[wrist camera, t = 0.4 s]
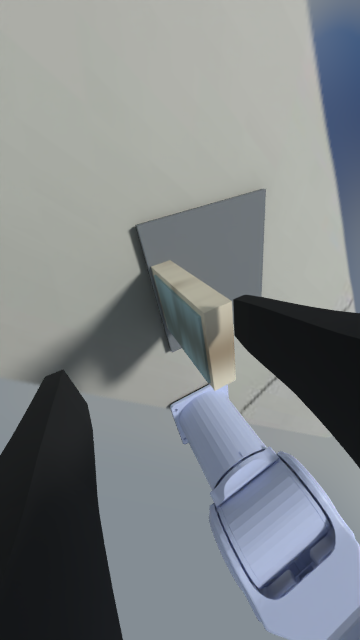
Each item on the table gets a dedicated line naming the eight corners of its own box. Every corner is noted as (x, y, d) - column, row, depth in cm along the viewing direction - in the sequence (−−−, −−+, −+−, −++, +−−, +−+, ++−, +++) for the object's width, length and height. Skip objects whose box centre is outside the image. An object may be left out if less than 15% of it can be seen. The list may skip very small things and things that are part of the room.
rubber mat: (258, 310, 25) (260, 311, 24) (170, 350, 22) (172, 352, 22) (262, 189, 18) (265, 188, 17) (135, 225, 15) (136, 225, 15)
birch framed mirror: (183, 321, 20) (235, 379, 14) (166, 328, 20) (212, 392, 14) (169, 260, 17) (232, 301, 11) (149, 267, 16) (201, 314, 10)
